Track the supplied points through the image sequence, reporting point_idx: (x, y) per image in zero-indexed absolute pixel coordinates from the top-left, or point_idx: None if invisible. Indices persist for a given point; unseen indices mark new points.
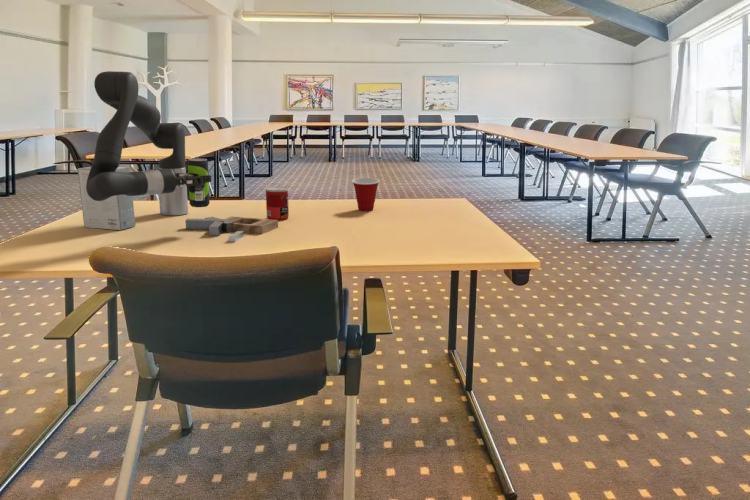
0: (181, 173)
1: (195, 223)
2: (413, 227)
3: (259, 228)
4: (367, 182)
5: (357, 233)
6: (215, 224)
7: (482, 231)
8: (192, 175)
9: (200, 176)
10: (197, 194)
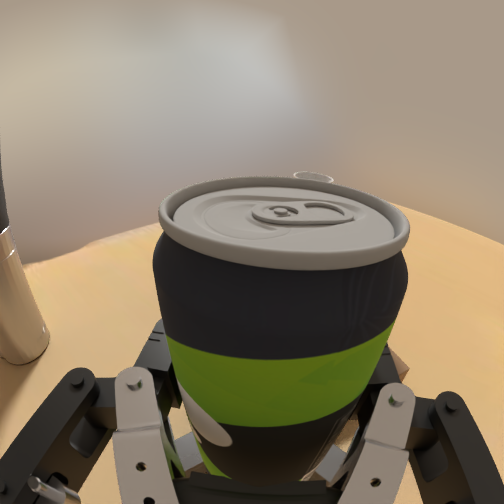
0: (173, 483)
1: (197, 468)
2: (436, 243)
3: (400, 376)
4: (302, 178)
5: (453, 284)
6: (326, 461)
7: (465, 233)
8: (405, 456)
9: (458, 404)
10: (313, 470)
